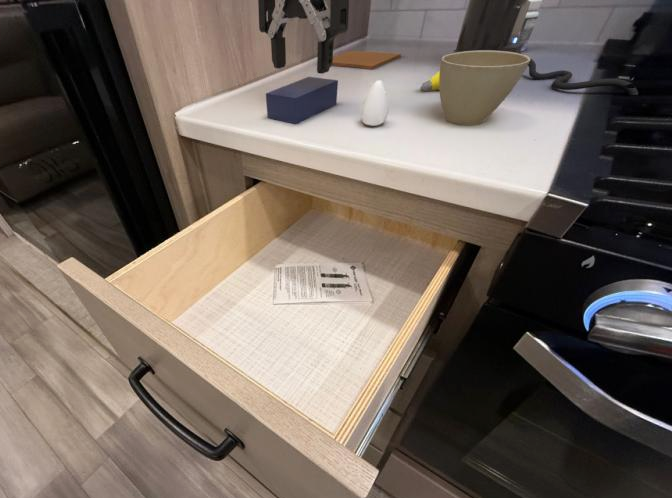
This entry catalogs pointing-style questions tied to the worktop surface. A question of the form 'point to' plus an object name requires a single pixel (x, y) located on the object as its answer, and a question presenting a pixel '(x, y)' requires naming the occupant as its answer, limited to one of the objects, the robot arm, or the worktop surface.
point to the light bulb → (431, 83)
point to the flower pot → (477, 83)
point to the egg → (375, 105)
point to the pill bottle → (529, 23)
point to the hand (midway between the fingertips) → (300, 69)
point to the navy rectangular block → (301, 99)
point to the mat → (363, 59)
